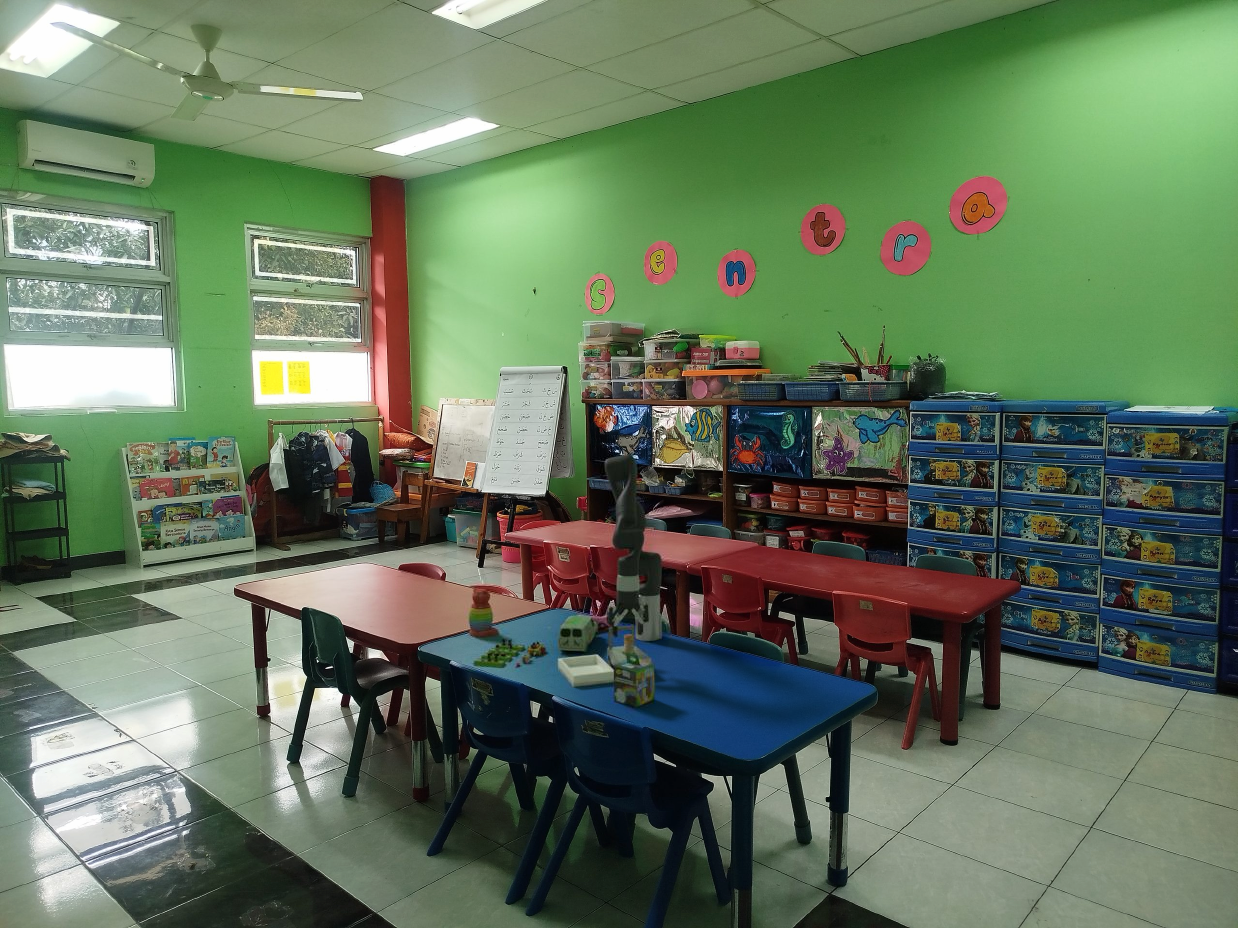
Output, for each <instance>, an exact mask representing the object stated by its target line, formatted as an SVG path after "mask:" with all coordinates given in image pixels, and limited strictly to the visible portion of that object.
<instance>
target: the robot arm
mask: <svg viewBox="0 0 1238 928" xmlns="http://www.w3.org/2000/svg"><path fill="white" fill-rule="evenodd" d="M604 470H605V474H606V478H607V480H608V483H609V486H610V489H611V491H612V494H613V497H614V500H615V517H616V520H615V521H616V523H615V528H614V531H613V535H612V540H611V541H612V545H613V547H614V548H615V549H616V550H619V551H624V550H625V551H627V550H628V554H627V555H624V556H620V557H619V558H618V560H617V577H616V605H615V606H611V605H607V609H606V615H607V620H606V622H607V623H608V624H609V625H612V636H613V637H614V638H618V635H619V633H618V632H619V630H618V626H617V625H619V624H620V622H622V620H623V619H624V620H627V619H634V618H635V631H634V635H635V638H636V640H638V641H642V642H644V641H645V642H651V641H657V640H661V639H662V638H663V637H662V636H663V635H662V631H663V629H662V624H663V623H662V620H663V619H662V617H663V616H662V613H661V612H660V611H661V605H660V604H661V602H660V600H661V599H660V598H661V597H660V595H661V594H660V593H661V585H662V570H663V561H662V556H661V554H660V553H659V552H654V551H645V550H643V546H644V543H645V534H644V533H645V531H646V527H647V520H646V519H647V518H646V515H645V511H644V508H643V505H641V503H640V502H639V501H638V500H637V489H638V487H637V486H638V466H637V462H636V459H635V456H634V455H632V454H624V455H617V456H614V457H609V458H607V459H605V461H604ZM622 482H623V483H624V482H626V484H625V486H624V487H623V486H622V484H621V483H622ZM639 576H643V577H647V581H646V582H644V583H640V577H639ZM615 611H616V612H617V613H616V614H615V615H614V613H615ZM613 615H614V617H613Z"/></svg>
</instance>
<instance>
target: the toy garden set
mask: <svg viewBox="0 0 1238 928" xmlns="http://www.w3.org/2000/svg"><path fill="white" fill-rule="evenodd" d="M512 641H513V639H511V638H510V639H508V643H507V642H506V639H505V638H502V639H501V642H498V643H497V644H495V647H491V649H489V650H488V651H487V652H485V653H483V654H481V657H480V658H477V659H476V660H474V661H473V666H477V667H488V668H489V667H490V668H500V669H501V668H503V667H504V666H505V665H506V663H510V661H511V660H512V659H513V657H514V658H515V657H516V656H517V655H518V654H519V652H522V651H523V650H525V648H526V647H525V644H515V643H512ZM526 652H527V653H526V654H522V655H521V658H519V659H518V661H517V663H516V666H515V668H517V667H518V666H520V661H521V663H523V664H528V663H530V658H531V656H532V655H533V656H535V655H537V656H540V655H541V654H545V653H546V652H547V648H546V647H544V644H543V642H539V641H536V642H535V641H534V642H532V643H531V644H530V645H528V646H527V651H526Z"/></svg>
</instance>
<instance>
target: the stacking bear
mask: <svg viewBox="0 0 1238 928" xmlns="http://www.w3.org/2000/svg"><path fill="white" fill-rule="evenodd" d="M472 592H473V593H472V596H471V597H472V601H473V603H472V604H471V606H470V608H469V612H468V624H469V628H470V629H469V635H470V636H472V637H474V638H475V637H476V638H479V637H481V638H482V637H490V636H494V635H497V634H499V629H498V628H497V627H493V626H492V625H493V622H494V613H493V610H492V606H491V604H490V603H489V601H490V599H491V593H490V592H489V591H488V590H487V589H486V588H476V587H475V588H473V591H472Z"/></svg>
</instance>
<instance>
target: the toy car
mask: <svg viewBox="0 0 1238 928" xmlns="http://www.w3.org/2000/svg"><path fill="white" fill-rule="evenodd" d="M589 616H590V615H584V616H577V615H569V616H568V617H567V618H566V620H565V621H564V622H563V623H562V625H560V628H559V632H558V637H557V650H558V651H561V652H565V651H569V652H571V651H573V652H582V653H586V652H587V651H588V649H589V645H590V644H591V643H592V641H593V640H596V639H597V635H596V632H597V624H596V622H594V621H593V619H592V617H589Z"/></svg>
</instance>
